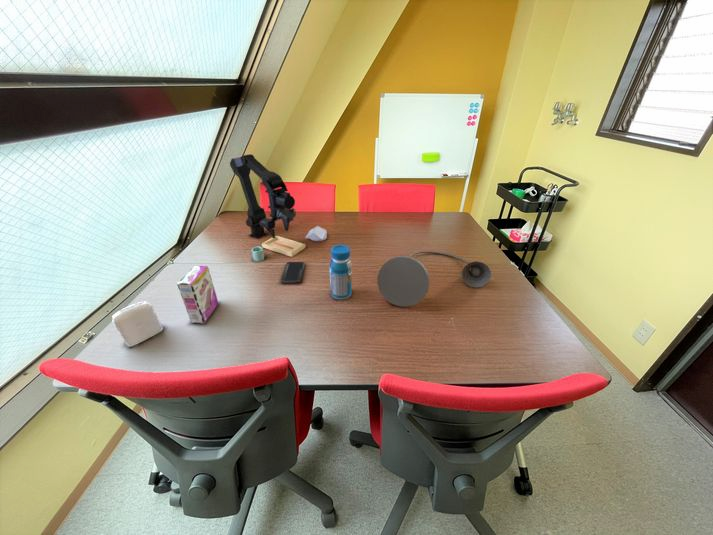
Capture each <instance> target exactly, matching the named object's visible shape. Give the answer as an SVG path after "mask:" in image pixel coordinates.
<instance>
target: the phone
mask: <svg viewBox="0 0 713 535" xmlns="http://www.w3.org/2000/svg"><path fill="white" fill-rule="evenodd" d="M304 270H305V262H304V261H288V262H286V264H285V268H284V270H283V274H282V276H281V283H282V284H300V283H301V280H302V277H303V273H304Z"/></svg>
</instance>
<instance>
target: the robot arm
mask: <svg viewBox="0 0 713 535" xmlns="http://www.w3.org/2000/svg"><path fill="white" fill-rule="evenodd" d="M229 166H230V168H231V170H232V172H233V174H234V175H235V176H237V178H238V179H239V182H240V185H241V189H242V192H243V194H244V197H245V200H246V204H247V212H246V215H247V218H246V220H245V225H246V226H247V227H249V228H250V232H251V234H249V237H252V238H256V239H261V238H262V237H264V236H266V235H267V232H268V233H269V235H270V236H271V238H275V236H276V232H275V231H276V230H275V229H276V227H277V226H276V222H277V221H279V220H281V221H282V225H283V228H284V230H285V231H286V232H288V231H289V228H290V223H291V222H293V221H294V219H295V217H297V211H296V209H295V208H294V206H295V204H296V199H295V198H294V196H292V195H291V193H290V192H288V191H289V190H288V187H287V185H286V183H285V182H284V180H283V179H282V177H281V175H279V174H278V173H277V172H274V171H272V170H269V169H268V168H267V167H265V166H264V164H262V163H261V162H259V161H258V160H257V158H255V155H253V154H251V153H250V154H243V155H241V156H240V157H234V158H231V159H230V162H229ZM251 171H252V172H253V173H254V174H255V175H256V176H257V177H258V178H260V180H261V184H262V185H263V187H264V188H265V191H264V192H265V193H266V194H267V195H268V202H269V205H267V208H268V209H270V213H269V217H270V218H269V217H267V214H266V211H265V209H264V207H261V205H259V203H258V199H257V196H256V193H255V189H254V186H253V183H252V180H251V176H250V175H251ZM265 230H266V231H267V232H265Z"/></svg>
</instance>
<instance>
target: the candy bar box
mask: <svg viewBox="0 0 713 535" xmlns="http://www.w3.org/2000/svg"><path fill="white" fill-rule="evenodd" d="M176 285H177V289H178V291H179V293H180V296H181V299H182V302H183V305H184V306H185V307H184V308H185V310H186V313H187V316H188V318H189V321H190V323H191V324H205V323H206V322H207V321H208V319H209V318H210V316H211V314H212V313H213V312H214V311H215V309H216V307H217V306H218V305H219V300H218V297H217V293H216V289H215V286H214V282H213V279H212V276H211V272H210V268H209V266H208V265H194V266H193V267H192V268H191V269H190V270H189V271H188V272H187V273H186V274H185V275H184V276H183V277H182V278H181V279H180V280H179V281H178V282H177V283H176Z"/></svg>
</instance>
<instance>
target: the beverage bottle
mask: <svg viewBox="0 0 713 535" xmlns="http://www.w3.org/2000/svg"><path fill="white" fill-rule="evenodd" d="M330 256H331V260H330V262H329V281H330V284H329V285H330V295H331V297H332V298H334V299H335V300H346V299H349V298H350V297H351V295H352V292H353V291H352V290H353V289H352V287H353V286H352V284H353V283H352V280H353V278H352V277H353V268H352V267H353V263H352V261H351V258H350V257H351V249H350V247H349V246H348V245H346V244H336V245H333V246H332V247H331V249H330Z"/></svg>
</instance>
